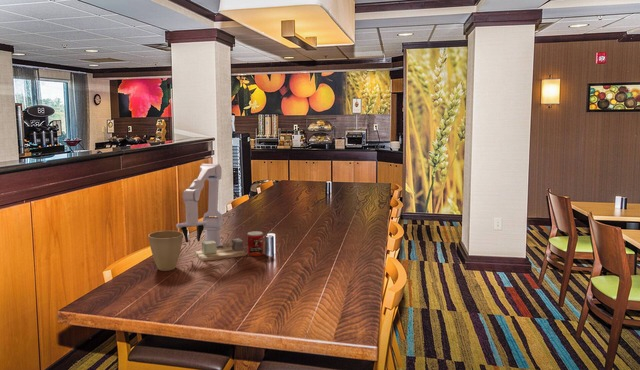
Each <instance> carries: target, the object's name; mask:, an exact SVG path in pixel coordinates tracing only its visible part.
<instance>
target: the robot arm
mask: <svg viewBox="0 0 640 370" xmlns="http://www.w3.org/2000/svg"><path fill="white" fill-rule="evenodd" d="M222 170H223V169H222V165H221V164H219V163H205V162H202V163H201V165H200V166H199V175H198V176H197V178H195V179H193V181H192V183H191V184H190V185H189V187H188V188H186V189H184V191H183V192H182V199H183V203H184V205H185V222H182V223H181V222H180V223H176V224H175V225H176V229H177V230H178V229H180V230H181V232H182V233H183V238H184V241H185V243H189V236H188V233H189V229H188V228H193V227H196V240H197V241H198V242H200V240H201V237H202V233H203V231H204V230H205V232H204V237H205V238H204V239H205V241H204V242H206V241H215V242H216V245H217V248H220V247H223V243H221V230H222V228H223V227H224V216H223V214H222V213H221V212H220V211H219V206H218V204H219V181H220V180H221V179H222ZM205 181H208V206H207V207H208V208H207V211H206V212H205V213H204V214H203V219H202V221H199V207H198V206H199V204H198V203H199V202H198V201H200V197H201V196H200V195H201V192H202V190H203V189H204V187H205V184H204V183H205Z"/></svg>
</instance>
